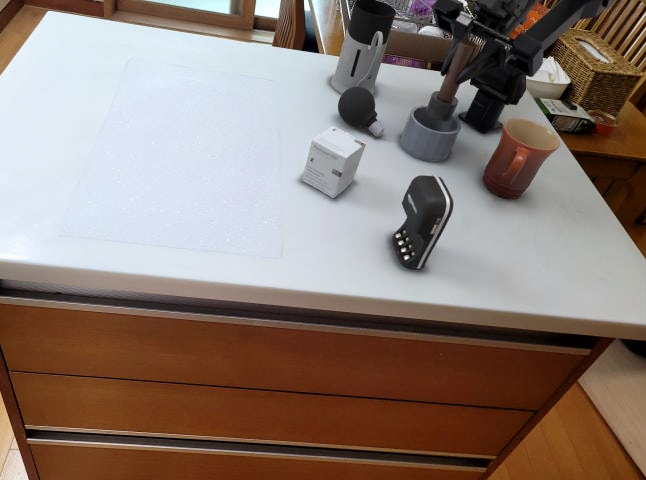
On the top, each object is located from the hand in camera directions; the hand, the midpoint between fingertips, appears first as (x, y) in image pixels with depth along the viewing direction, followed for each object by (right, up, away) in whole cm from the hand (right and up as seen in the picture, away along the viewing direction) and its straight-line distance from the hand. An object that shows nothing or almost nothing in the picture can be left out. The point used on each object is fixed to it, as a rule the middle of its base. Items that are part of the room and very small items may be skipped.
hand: (448, 79), depth 86 cm
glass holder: (-12, +4, +20) cm, 23 cm away
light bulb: (-13, -4, +12) cm, 18 cm away
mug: (+9, -17, +4) cm, 20 cm away
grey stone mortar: (-1, -8, +10) cm, 13 cm away
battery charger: (-10, -28, -10) cm, 31 cm away
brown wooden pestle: (0, -4, +5) cm, 7 cm away
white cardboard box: (-19, -16, -2) cm, 25 cm away
